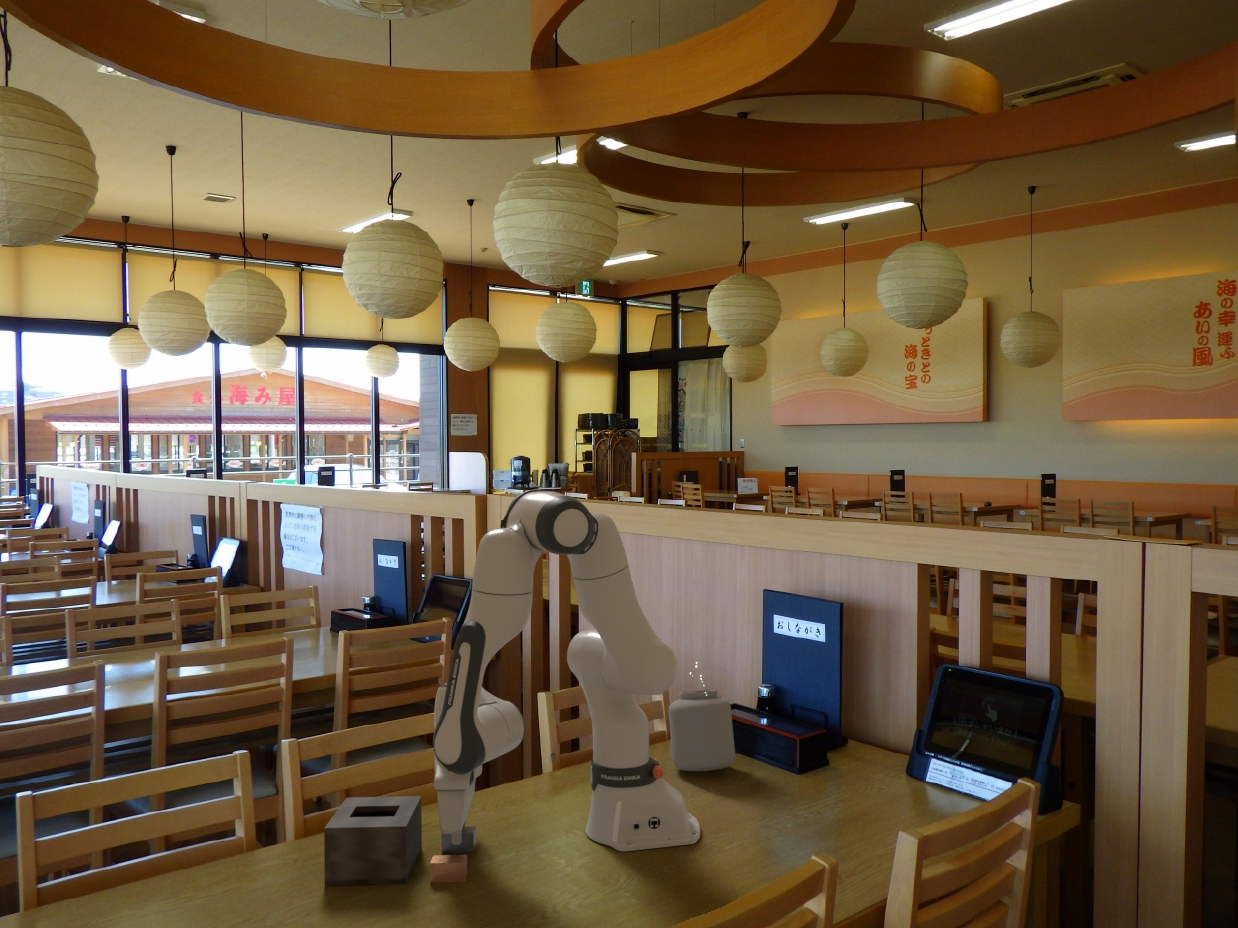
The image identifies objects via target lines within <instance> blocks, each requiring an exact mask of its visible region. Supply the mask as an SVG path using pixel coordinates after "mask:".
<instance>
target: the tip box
mask: <svg viewBox="0 0 1238 928" xmlns="http://www.w3.org/2000/svg"><path fill="white" fill-rule="evenodd" d="M422 810H423V808H422V795H413V796H412V795H411V796H410V795H409V796H407V795H405V796H404V795H403V796H401V795H400V796H398V795H397V796H362V797H361V796H359V797H357V796H356V797H346V798H345V799H344V800H343V802H342V803H341V804H340V805H339V807H338V809H337V810H336V812H334V814H333V816H332V817H330V820H329V821H328V823H327V824H326V825H325V826H324V827H323V828H324V829H323V830H324V831H323V836H324V837H323V839H324V840H323V841H324V842H323V843H324V848H323V849H324V852H323V853H324V887H339V886H340V887H342V886H343V887H345V886H346V887H347V886H350V887H351V886H378V885H379V886H381V885H382V886H386V885H387V886H388V885H407V884H408V881H409V880H410V877H411V875H412V873H413V871H414V868H415V865H416V863H417V861H418V858H419V856H420V854H421V852H422V851H423V849H422V847H423V845H422V844H423V837H422V836H423V835H422V834H423V832H422V829H423V828H422V825H423V824H422V823H423V822H422V818H423V817H422Z"/></svg>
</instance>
